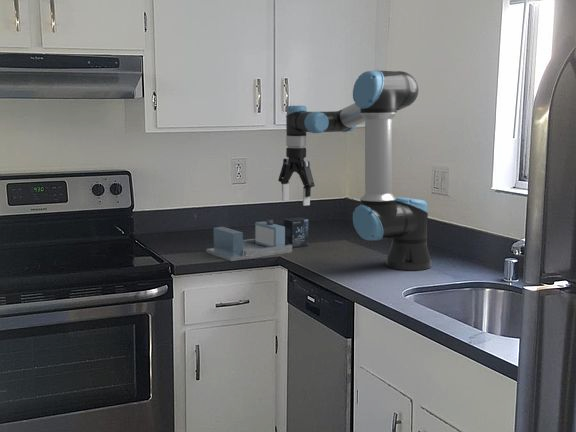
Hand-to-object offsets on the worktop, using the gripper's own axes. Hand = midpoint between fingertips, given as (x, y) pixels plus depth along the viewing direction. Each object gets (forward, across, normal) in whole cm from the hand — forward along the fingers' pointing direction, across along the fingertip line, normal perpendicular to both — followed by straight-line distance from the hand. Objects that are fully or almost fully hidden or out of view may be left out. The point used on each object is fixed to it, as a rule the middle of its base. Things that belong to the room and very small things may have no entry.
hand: (295, 203), depth 283 cm
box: (+17, 0, 0) cm, 17 cm away
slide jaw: (+15, 0, +12) cm, 19 cm away
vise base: (+16, 0, +21) cm, 27 cm away
